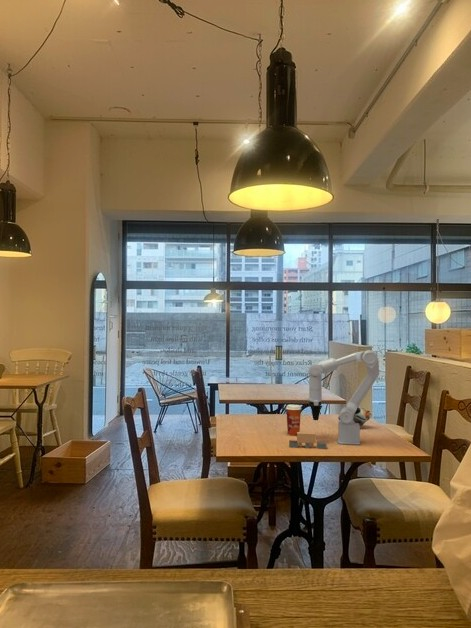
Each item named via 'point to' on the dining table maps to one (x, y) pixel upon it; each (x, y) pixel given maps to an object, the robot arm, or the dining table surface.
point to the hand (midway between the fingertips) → (315, 418)
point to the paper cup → (293, 419)
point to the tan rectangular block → (306, 438)
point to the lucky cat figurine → (361, 416)
